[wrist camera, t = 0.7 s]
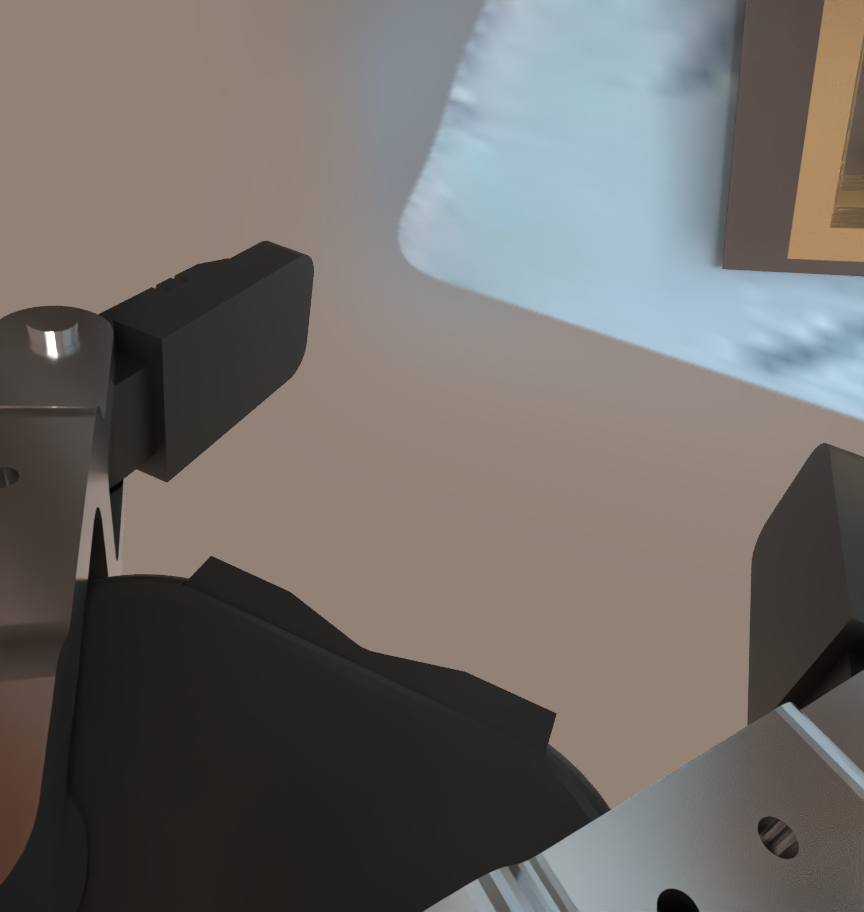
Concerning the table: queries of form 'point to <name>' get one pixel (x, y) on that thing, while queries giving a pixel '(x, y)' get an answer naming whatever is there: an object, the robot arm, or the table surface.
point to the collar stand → (799, 140)
